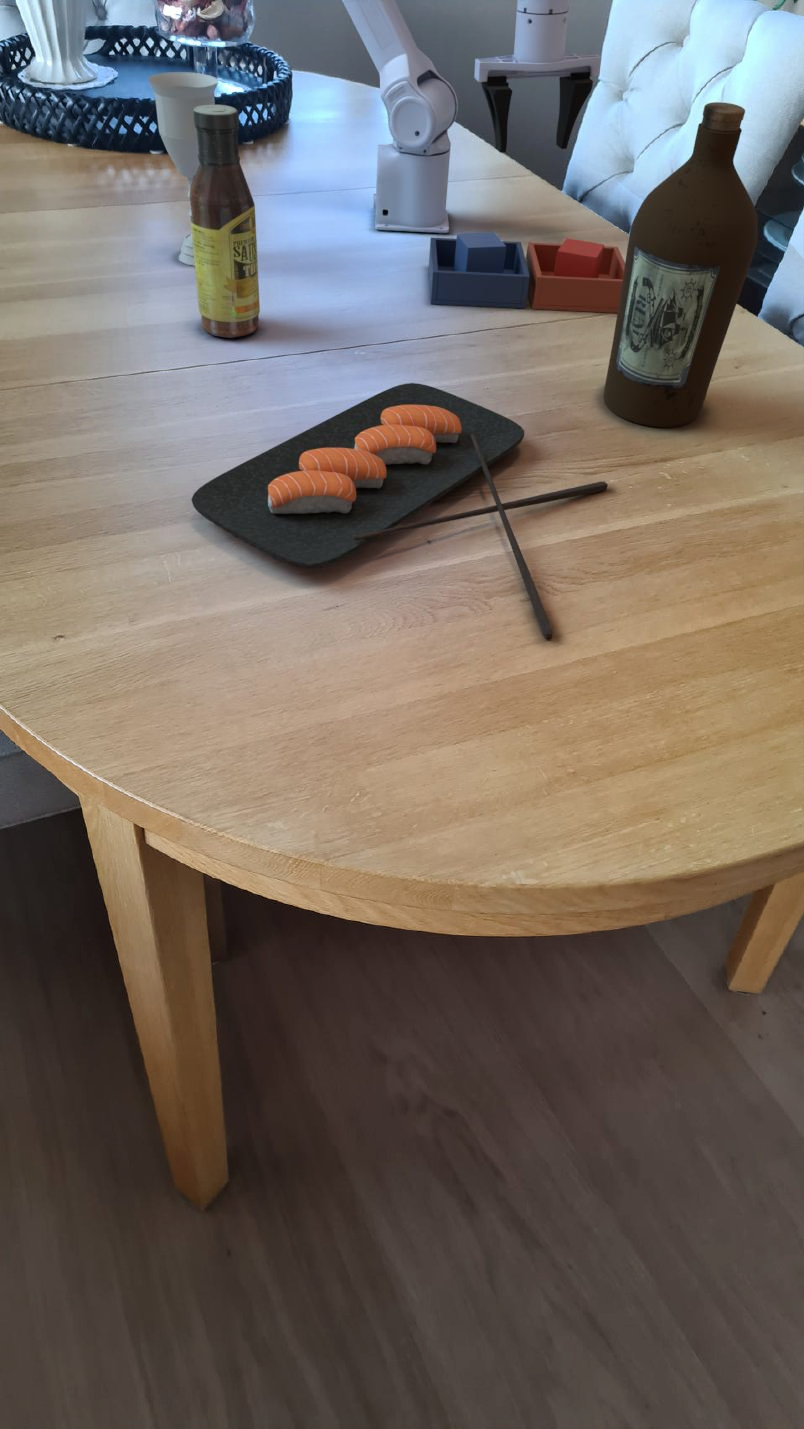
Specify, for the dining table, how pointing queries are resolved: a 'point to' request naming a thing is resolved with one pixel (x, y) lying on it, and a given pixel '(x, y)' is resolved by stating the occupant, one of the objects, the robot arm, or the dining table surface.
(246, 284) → the sauce bottle
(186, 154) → the chalice
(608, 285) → the red bin
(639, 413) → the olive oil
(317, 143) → the dining table surface
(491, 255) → the blue block
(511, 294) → the blue bin
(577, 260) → the red block
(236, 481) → the sushi plate
